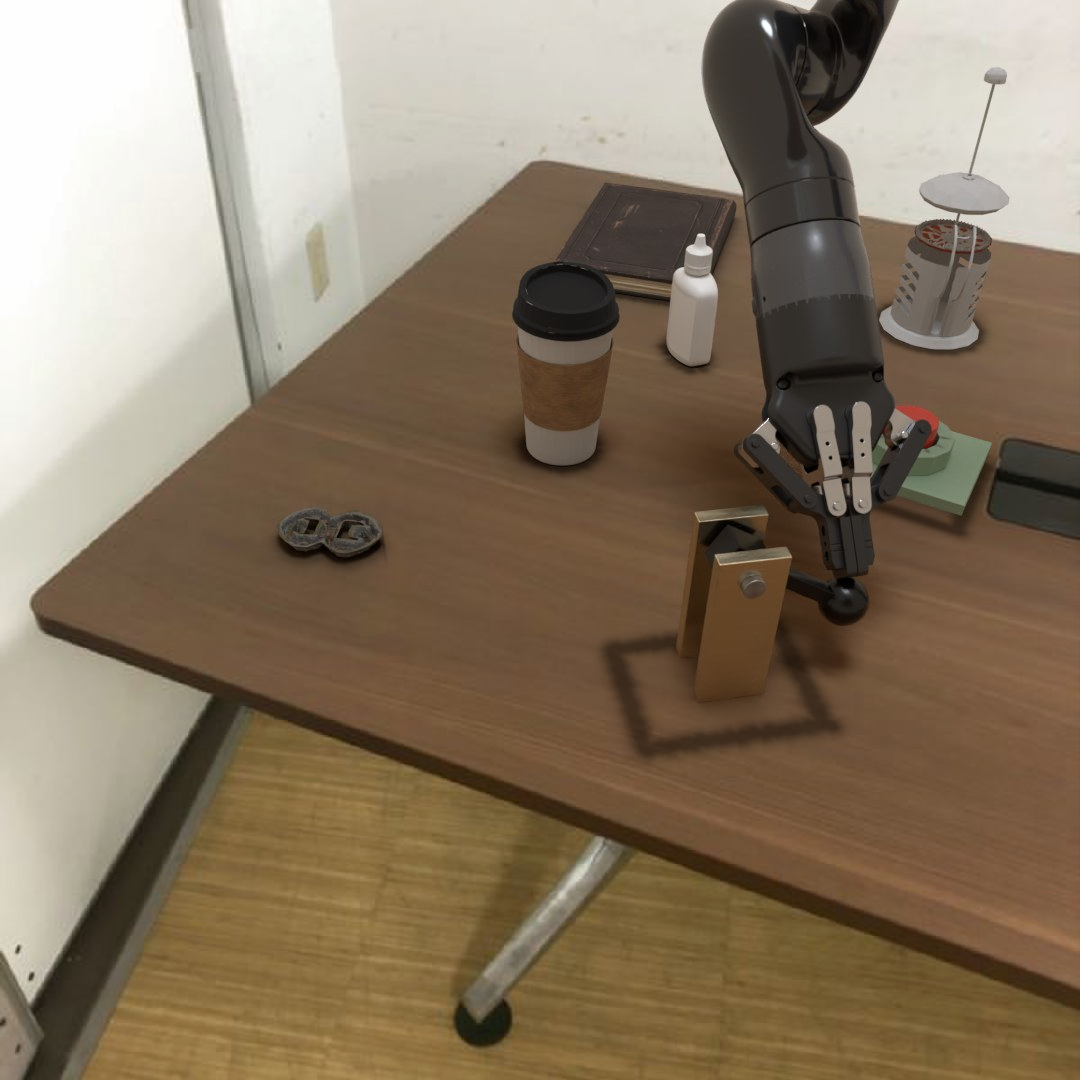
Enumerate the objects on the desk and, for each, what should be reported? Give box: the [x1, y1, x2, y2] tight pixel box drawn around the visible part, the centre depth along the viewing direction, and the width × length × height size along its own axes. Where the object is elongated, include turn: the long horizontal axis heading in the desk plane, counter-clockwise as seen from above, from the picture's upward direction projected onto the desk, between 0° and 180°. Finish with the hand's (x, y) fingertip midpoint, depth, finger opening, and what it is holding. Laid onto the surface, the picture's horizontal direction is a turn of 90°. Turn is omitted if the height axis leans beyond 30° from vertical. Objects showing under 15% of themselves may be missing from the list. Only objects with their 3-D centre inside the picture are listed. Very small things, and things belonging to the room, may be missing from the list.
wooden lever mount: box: [675, 504, 793, 703], centre depth 70 cm, size 12×9×13 cm
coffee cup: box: [511, 261, 621, 467], centre depth 90 cm, size 8×8×15 cm
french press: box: [878, 66, 1010, 350], centre depth 104 cm, size 10×12×25 cm
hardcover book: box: [552, 182, 737, 302], centre depth 125 cm, size 16×23×2 cm
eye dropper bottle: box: [665, 234, 719, 367], centre depth 104 cm, size 4×6×12 cm
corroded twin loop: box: [276, 506, 383, 559], centre depth 84 cm, size 5×8×1 cm, turn 82°
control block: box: [870, 420, 993, 516], centre depth 92 cm, size 12×10×4 cm
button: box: [884, 405, 940, 449], centre depth 90 cm, size 4×4×2 cm
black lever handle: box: [704, 525, 870, 627], centre depth 69 cm, size 12×3×3 cm
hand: (851, 576), depth 70 cm, fingers closed
